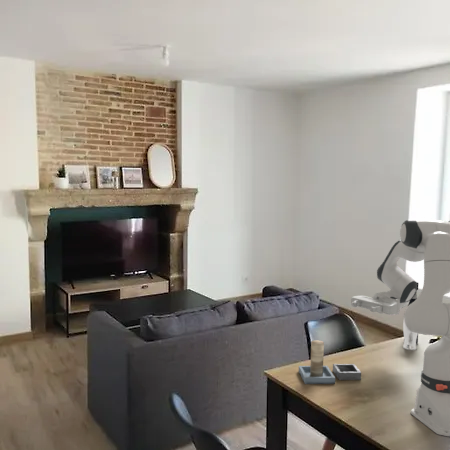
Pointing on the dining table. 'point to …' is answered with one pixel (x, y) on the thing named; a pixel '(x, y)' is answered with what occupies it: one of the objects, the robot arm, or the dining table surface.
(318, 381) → the tray
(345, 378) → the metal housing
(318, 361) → the peg
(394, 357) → the dining table surface
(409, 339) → the beer glass
